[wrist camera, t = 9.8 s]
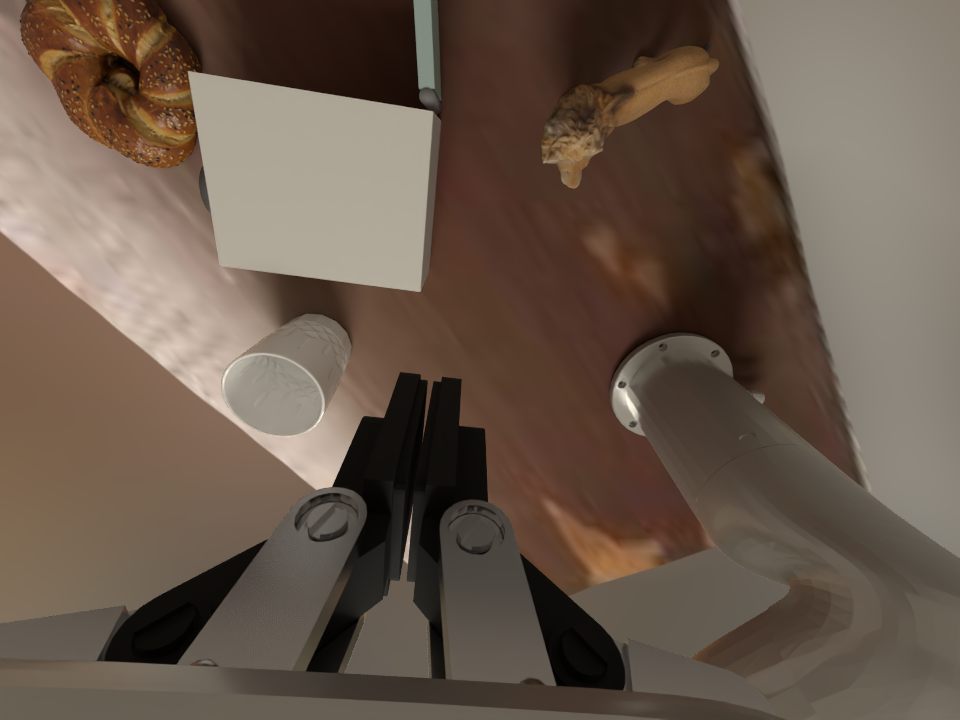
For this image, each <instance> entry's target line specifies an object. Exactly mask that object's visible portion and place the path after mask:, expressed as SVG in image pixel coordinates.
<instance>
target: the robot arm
mask: <svg viewBox="0 0 960 720" xmlns="http://www.w3.org/2000/svg"><path fill="white" fill-rule="evenodd" d="M660 344H661V345H660ZM427 384H428V380H421V375H420V374H412V373H403V372H400V374H399V377H398V380H397V383H396V386H395V389H394V391H393V394H392V397H391V400H390V403H389V406H388V409H387V411H386V414H385V417H384V418H379V417H369V416H364V417H363V418H362V420H361V422H360V424H359V427H358V429H357V431H356V433H355V436H354V438H353V440H352V443H351V445H350V447H349V450H348V452H347V454H346V456H345V459H344V461H343V463H342V466H341V468H340V470H339V473H338V475H337V477H336V479H335V482H334V484H333V486H332V487H330V488H323V489H319V490H316V491H314V492H311V493H309V494H307V495H306V496H304V497H302V498H301V499H299V500H298V501H297V502H296V503H295V505H293V507H292V508H291V509H290V510H289V512H288V513H287V514H286V516H285V517H284V518H283V520H282V521H281V522H280V524H279V525H278V527H277V528H276V529H275V531H274V532H273V533H272V535H271V536H270V537H269V539H267V540H265V541H263V542H262V543H259V544H257V545H256V546H254V547H252V548H250V549H248V550H246V551H244V552H242V553H240V554H238V555H236V556H234V557H233V558H231V559H229V560H227V561H225V562H223V563H221V564H219V565H217V566H215V567H213V568H211V569H209V570H208V571H206V572H204V573H202V574H200V575H198V576H196V577H194V578H192V579H190V580H188V581H187V582H184V583H183V584H181V585H179V586H177V587H175V588H173V589H171V590H169V591H167V592H165V593H163V594H162V595H160V596H158V597H156V598H154V599H153V600H151V601H150V602H148V603H147V604H145V605H143V606H142V607H140V608H139V609H138V610H134V611H127V609H126V606H118V607H111V608H104V609H97V610H90V611H83V612H77V613H70V614H63V615H56V616H49V617H43V618H36V619H29V620H22V621H15V622H9V623H1V624H0V720H960V558H958V557H957V556H956V555H954V554H952V553H951V552H949V551H948V550H946V549H945V548H943V547H942V546H940V545H939V544H938V543H936V542H935V541H933V540H932V539H930V538H929V537H928V536H926V535H925V534H923V533H922V532H921V531H919V530H918V529H916V528H915V527H913V526H912V525H911V524H909V523H908V522H906V521H905V520H904V519H902V518H901V517H899V516H898V515H897V514H895V513H894V512H893V511H891V510H890V509H889V508H887V507H886V506H885V505H883V504H882V503H881V502H880V501H878V500H877V499H876V498H875V497H873V496H872V495H871V494H870V493H868V492H867V491H866V490H865V489H863V488H862V487H861V486H860V485H858V484H857V483H856V482H855V481H853V480H852V479H851V478H850V477H848V476H847V475H846V474H845V473H843V472H842V471H841V470H840V469H839V468H837V467H836V466H835V465H834V464H833V463H832V462H830V461H829V460H828V459H827V458H826V457H824V456H823V455H822V454H821V453H820V452H818V451H817V450H816V449H815V448H814V447H812V446H811V445H810V444H809V443H808V442H807V441H805V440H804V439H803V438H802V437H801V436H799V435H798V434H797V433H796V432H795V431H793V430H792V429H791V428H790V427H789V426H788V425H786V424H785V423H784V422H783V421H782V420H780V419H779V418H778V417H777V416H776V415H775V414H773V413H772V412H771V411H770V410H769V409H767V408H766V407H765V406H764V405H763V404H762V403H763V402H764V399H765V396H764V394H763V392H761V391H754V390H746V389H745V388H744V387H743V386H741V385H740V384H739V383H738V382H737V381H735V380H734V379H733V368H732V364H731V361H730V359H729V357H728V355H727V354H726V353H725V351H724V350H723V349H722V348H721V347H720V346H718V345H717V344H716V343H715V342H713V341H711V340H710V339H708V338H707V337H704V336H701V335H698V334H693V333H671V334H667V335H662V336H659V337H656V338H654V339H651V340H649V341H647V342H645V343H644V344H642V345H640V346H639V347H637V348H636V349H635V350H634V351H632V352H631V353H630V354H629V355H628V356H627V357H626V358H625V359H624V360H623V361H622V362H621V364H620V365H619V367H618V369H617V370H616V372H615V374H614V376H613V379H612V381H611V386H610V403H611V406H612V409H613V411H614V413H615V415H616V417H617V418H618V419H619V421H620V422H621V423H622V425H624V426H625V427H626V428H627V429H629V430H630V431H632V432H634V433H636V434H639V435H643V436H646V437H647V439H648V440H649V442H650V444H651V445H652V447H653V448H654V450H655V452H656V453H657V455H658V456H659V458H660V460H661V461H662V463H663V465H664V466H665V468H666V469H667V471H668V473H669V474H670V476H671V477H672V479H673V481H674V482H675V484H676V485H677V487H678V489H679V490H680V492H681V493H682V495H683V497H684V498H685V500H686V501H687V503H688V505H689V506H690V508H691V509H692V511H693V513H694V514H695V516H696V518H697V519H698V521H699V522H700V524H701V525H702V527H703V529H704V530H705V532H706V533H707V535H708V536H709V538H710V539H711V541H712V542H713V543H714V544H715V545H716V547H717V548H718V549H719V550H720V551H721V552H722V553H723V554H725V555H726V556H727V557H728V558H730V559H731V560H732V561H733V562H735V563H737V564H738V565H740V566H742V567H744V568H745V569H747V570H749V571H752V572H754V573H756V574H758V575H760V576H763V577H765V578H768V579H771V580H773V581H776V582H779V583H781V584H784V585H787V586H790V589H789V592H788V593H787V595H786V596H785V597H784V598H782V599H781V600H779V601H778V602H776V603H775V604H773V605H772V606H770V607H769V608H768V609H767V610H766V611H765V612H763V613H761V614H760V615H758V616H757V617H755V618H753V619H751V620H750V621H748V622H746V623H744V624H743V625H741V626H739V627H738V628H736V629H735V630H733V631H731V632H729V633H728V634H726V635H724V636H723V637H721V638H719V639H718V640H716V641H714V642H713V643H712V644H710V645H708V646H707V647H705V648H704V649H702V650H701V651H699V652H698V653H697V654H695V655H694V656H692V657H691V658H688V657H684V656H681V655H678V654H675V653H672V652H669V651H666V650H662V649H659V648H656V647H653V646H650V645H646V644H644V643H641V642H637V641H634V640H631V639H628V638H627V640H626V641H625V643H621V642H618V641H615V640H613V639H612V638H611V636H610V635H609V634H608V633H607V632H606V631H605V630H604V629H603V628H602V626H601V625H599V624H598V623H597V622H596V621H595V620H594V619H593V618H592V617H590V616H589V615H588V614H587V613H586V612H585V611H584V610H583V609H582V608H580V607H579V606H578V605H577V604H576V603H575V602H574V601H573V600H572V599H570V598H569V597H568V596H567V595H566V594H565V593H564V592H563V591H562V590H560V589H559V588H558V587H557V586H556V585H555V584H554V583H553V582H552V581H550V580H549V579H548V578H547V577H546V576H545V575H544V574H543V573H542V572H540V571H539V570H538V569H537V568H536V567H535V566H534V565H533V564H532V563H530V562H529V561H528V560H527V559H526V558H525V557H524V556H523V555H522V554H520V553H519V549H518V545H517V542H516V538H515V535H514V531H513V527H512V525H511V523H510V521H509V519H508V517H507V516H506V515H505V514H504V512H503V511H502V510H501V509H499V508H498V507H496V506H494V505H493V504H491V503H488V491H487V466H486V441H485V429H484V428H475V427H465V426H459V415H460V398H461V379H456V378H447V377H442V381H441V382H437V381H434V382H433V388H432V393H431V399H430V404H429V410H428V415H427V420H426V426H425V431H424V437H423V428H424V417H425V406H426V395H427ZM422 440H423V442H422ZM412 507H413V513H412ZM411 513H412V525H411V537H410V549H409V560H408V572H407V581H410V582H415V589H414V600H413V602H414V603H415V604H416V605H417V607H418V608H419V609H420V610H421V612H422V613H423V614H424V615H425V617H426V618H427V619H428V620H427V647H428V673H429V678H414V677H396V676H377V675H360V674H345V671H346V668H347V666H348V663H349V660H350V658H351V655H352V653H353V650H354V648H355V645H356V642H357V640H358V637H359V635H360V632H361V629H362V627H363V624H364V621H365V616H366V612H367V611H368V610H369V609H371V608H372V607H373V606H374V605H376V604H377V603H378V602H380V601H381V600H382V599H383V596H387V595H388V590H389V584H390V580H397V581H399V579H400V575H401V568H402V564H403V558H404V552H405V547H406V541H407V535H408V530H409V524H410V519H411Z"/></svg>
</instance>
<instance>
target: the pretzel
mask: <svg viewBox="0 0 960 720" xmlns="http://www.w3.org/2000/svg"><path fill="white" fill-rule="evenodd" d="M26 1H27V3H26V6H25V7H24V9H23V11H22V14H21V15H20V18H21V20H20V23H21V29H20V31H21V37H22V41H23V43H24V45H25V46H26V48H27V50H28V54H29V55H30V56H31V57H32V58H33V60H34V62H35V63H36V64H37V65H38V67H39V68H40V69H41V71H42V72H43V73H44V74H45V75H46V76H47V77H48V78H49V80H50V81H51V82H52V83H53V86H54V87H55V90H56V92H57V94H58V97H59V98H60V102H61V103H62V105H63V107H64V109H65V111H66V112H67V115H68V116H69V118H70V120H71V121H73V123H74V124H76V126H78V127H79V129H80V130H82V131H83V133H85V134H87V135H89V137H90V138H93V139H94V140H95V141H97V142H100V143H101V144H103V145H105V146H107V147H109V148H113V149H116V150H117V151H118V152H119V153H121V154H123V155H124V156H126V157H128V158H131V159H133V160H134V161H136V162H137V163H140V164H145V165H146V166H151V167H154V168H169V167H174V166H178V165H179V164H180V163H183V161H184V160H186V159H187V158H188V157H189V156H190V155H191V154H192V151H193V150H194V147H195V145H196V138H197V132H196V131H197V124H196V118H195V112H194V106H193V100H192V94H191V88H190V82H189V76H188V71H190V72H197V73H201V67H200V64H199V61H198V59H197V57H196V55H195V53H194V51H193V50H192V48H191V47H190V45H189V43H188V42H187V41H186V40H185V39H184V38H183V37H182V36H181V35H180V34H179V32H178V31H177V30H176V28H174V27H173V26H171V25H169V24H168V23H167V18H166V15H165V14H164V12H163V10H162V9H161V7H160V6H159V4H158V2H156V1H155V0H26ZM121 57H122V58H124V59H126V60H128V61H129V62H130V63H133V64H134V65H135V67H136V68H137V69H138V70H139V72H140V76H137V75H136V74H134V73H133V72H131V71H130V70H129V69H128V68H126V66H124V65H120V64H119V63H118V61H119V60H121V59H122V58H121Z"/></svg>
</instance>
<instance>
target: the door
mask: <svg viewBox="0 0 960 720" xmlns="http://www.w3.org/2000/svg"><path fill="white" fill-rule="evenodd" d="M414 16H415V33H416V49H417V66H418V83H419V89H420V93H419V98H420V101H421V102H422V103H423V104H424V106H425V107H426V108H427V109H428V110H429V111H433V112H434V113H435V114H436V115H437V114H439V113H440V112H441V110H442V106H441V103H440V101H441V75H440V49H439V23H438V0H414Z"/></svg>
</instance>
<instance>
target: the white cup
mask: <svg viewBox="0 0 960 720" xmlns="http://www.w3.org/2000/svg"><path fill="white" fill-rule="evenodd" d="M351 350H352V345H351V342H350V339H349V336H348V333H347V332H346V331H345V330H344V329H343V328H342V327H341V326H340V325H339V323H338V322H337V321H335V320H332V319H330V318H328V317H326V316H324V315H322V314H304V315H301V316H299V317H297V318H294V319H292V320H291V321H289V322H288V323H287V324H285V325H283V326H282V327H280V328H278V329H277V330H275V331H274V332H273V333H271V334H270V335H268V336H266V337H265V338H264V339H262V340H261V341H259V342H258V343H257V344H255V345H254V346H253V347H251V348H250V349H249V350H247V351H246V352H244V353H243V354H242V355H240V356H239V357H238V358H236V359H235V360H233V361H232V362H231V363H230V364H229V365H228V366H227V368H226V369H225V371H224V373H223V376H222V380H221V390H222V395H223V398H224V400H225V402H226V404H227V406H228V408H229V409H230V410H231V412H232V413H233V414H234V415H235V416H236V417H237V418H238V419H239V420H240V421H241V422H243V423H244V424H245V425H247V426H248V427H250V428H252V429H254V430H256V431H258V432H261V433H263V434H267V435H271V436H276V437H293V436H298V435H301V434H304V433H306V432H308V431H310V430H311V429H313V428H314V427H315V426H316V425H317V424H318V423H319V422H320V420H321V418H322V417H323V415H324V413H325V411H326V409H327V407H328V405H329V403H330V401H331V399H332V397H333V395H334V393H335V391H336V389H337V387H338V385H339V382H340V380H341V378H342V376H343V374H344V371H345V368H346V366H347V364H348V362H349V360H350V356H351Z"/></svg>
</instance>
